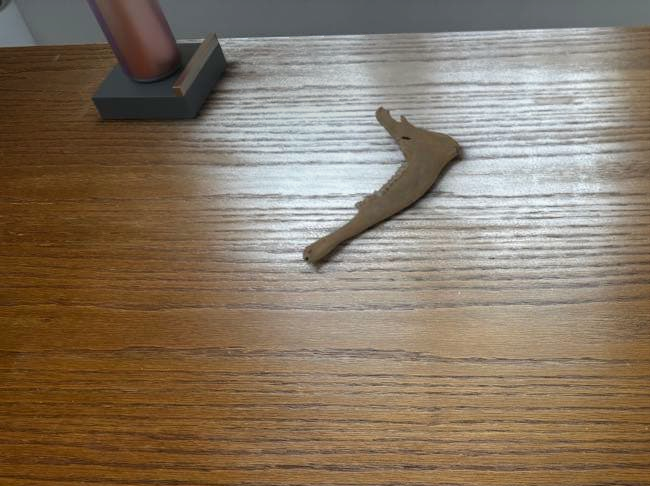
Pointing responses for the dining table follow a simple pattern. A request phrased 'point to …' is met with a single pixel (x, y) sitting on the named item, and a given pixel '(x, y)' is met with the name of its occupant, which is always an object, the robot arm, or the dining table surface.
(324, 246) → the jawbone
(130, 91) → the grey ledged base
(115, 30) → the beverage can
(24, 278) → the dining table surface
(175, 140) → the dining table surface
